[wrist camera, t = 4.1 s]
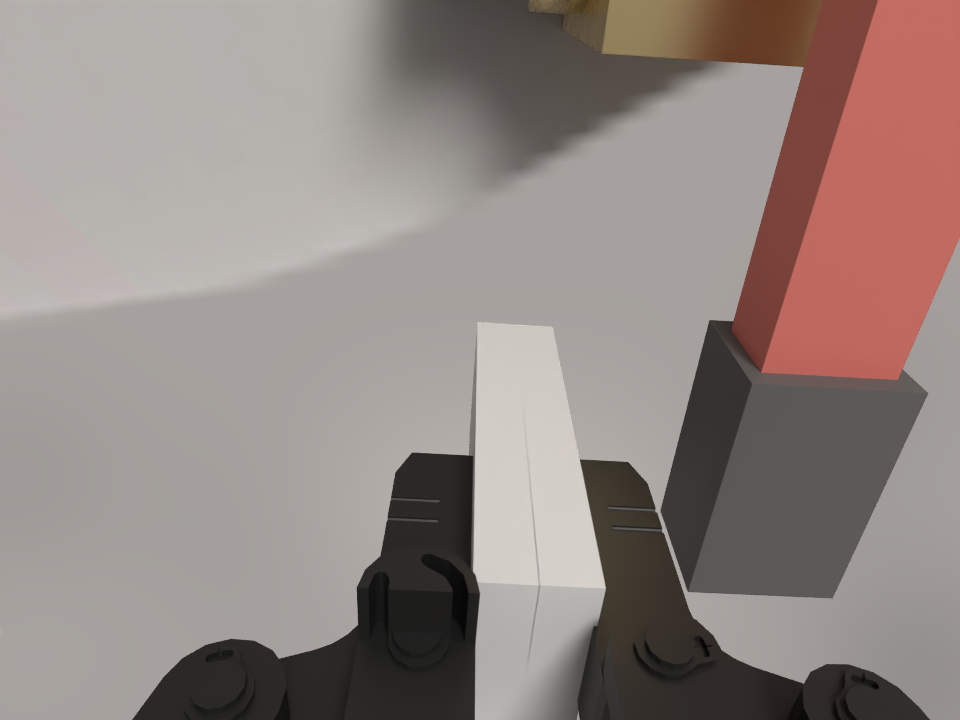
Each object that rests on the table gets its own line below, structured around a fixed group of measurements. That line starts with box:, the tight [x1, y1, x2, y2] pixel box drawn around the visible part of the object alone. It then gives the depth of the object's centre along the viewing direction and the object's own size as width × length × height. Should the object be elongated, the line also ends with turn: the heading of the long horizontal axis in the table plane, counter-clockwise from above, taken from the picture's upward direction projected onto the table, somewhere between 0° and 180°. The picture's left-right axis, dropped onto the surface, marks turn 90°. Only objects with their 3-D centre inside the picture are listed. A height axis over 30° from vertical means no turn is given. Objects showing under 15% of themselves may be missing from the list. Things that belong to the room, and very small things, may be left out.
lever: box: [661, 0, 960, 598], centre depth 11 cm, size 15×4×2 cm, turn 177°
